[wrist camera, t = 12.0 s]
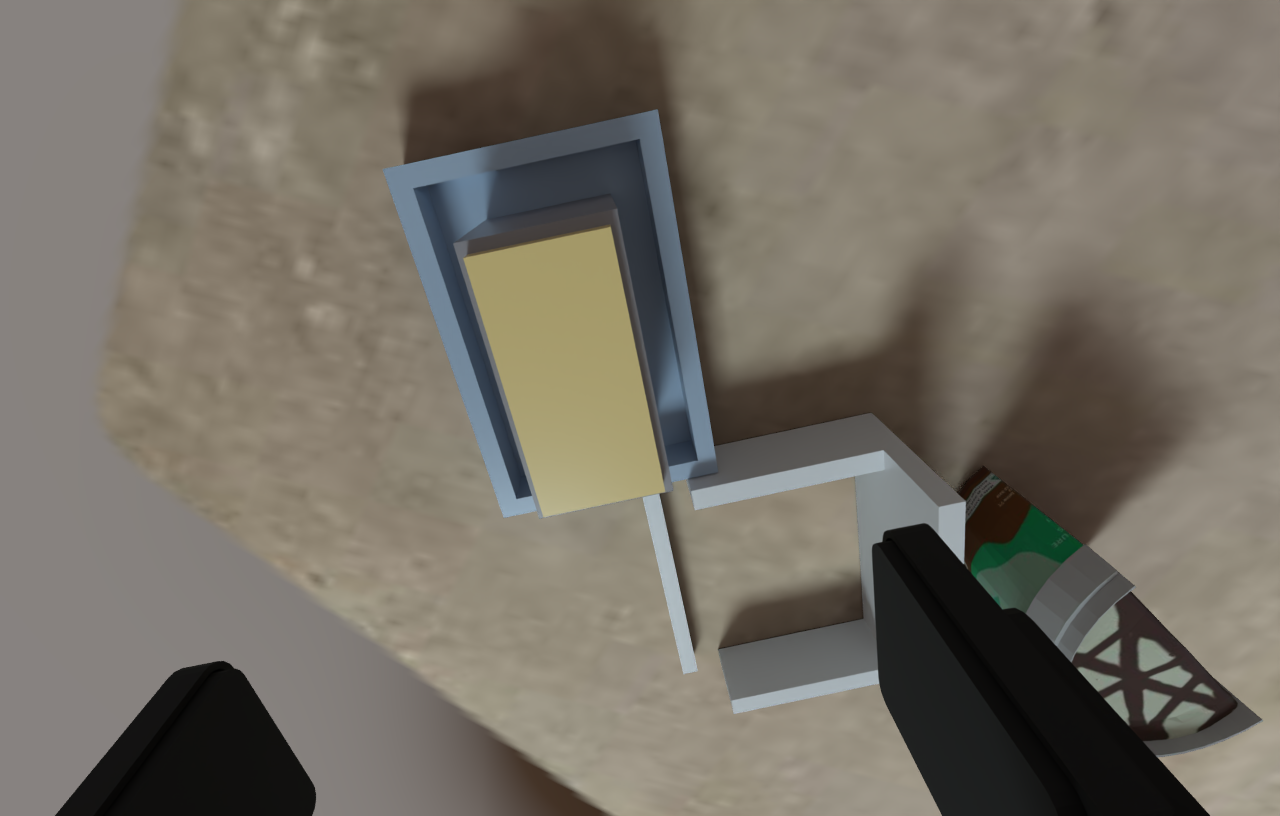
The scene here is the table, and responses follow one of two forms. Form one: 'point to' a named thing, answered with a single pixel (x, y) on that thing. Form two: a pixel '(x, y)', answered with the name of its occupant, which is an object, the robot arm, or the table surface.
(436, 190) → the tray
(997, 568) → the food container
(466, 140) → the table surface
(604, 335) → the yellow-topped block
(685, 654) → the bay
